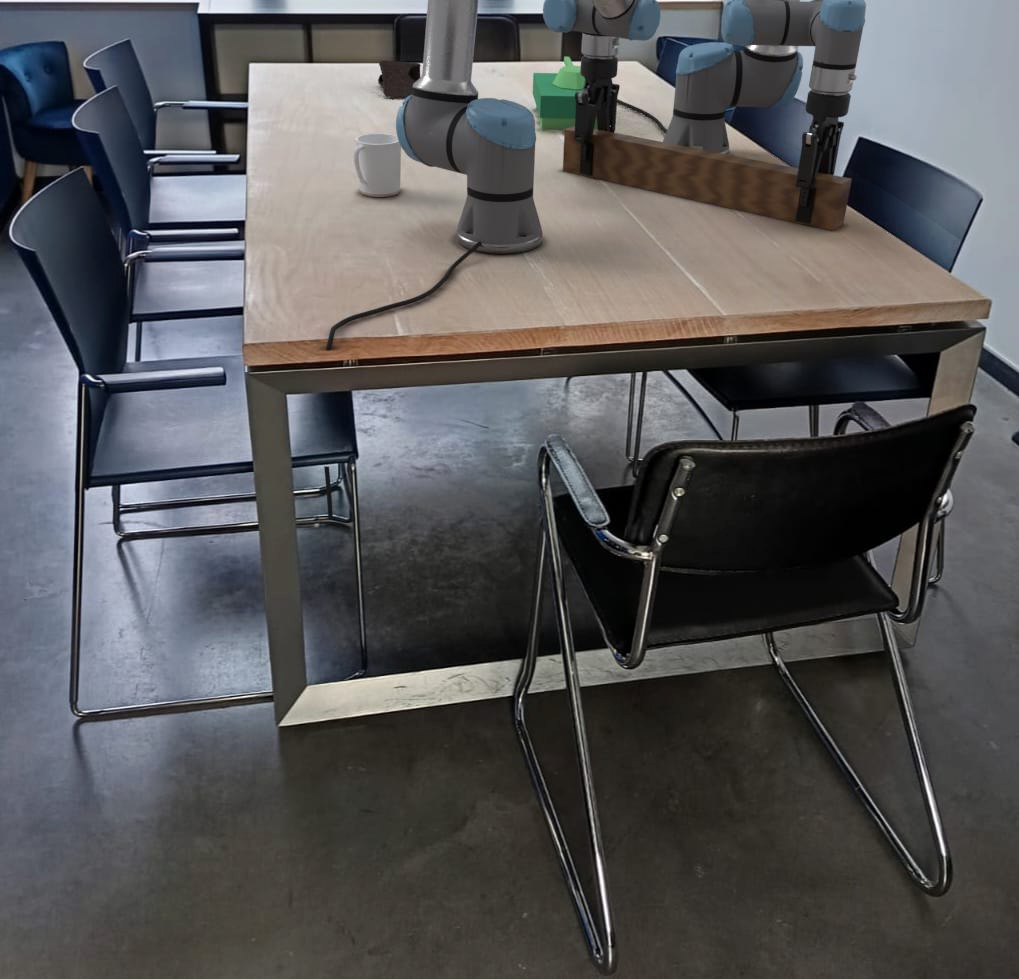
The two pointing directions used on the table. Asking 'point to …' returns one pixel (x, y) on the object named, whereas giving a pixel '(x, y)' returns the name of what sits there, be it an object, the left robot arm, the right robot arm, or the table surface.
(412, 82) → the axe head
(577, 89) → the green tank
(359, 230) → the table surface
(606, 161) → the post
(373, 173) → the mug
